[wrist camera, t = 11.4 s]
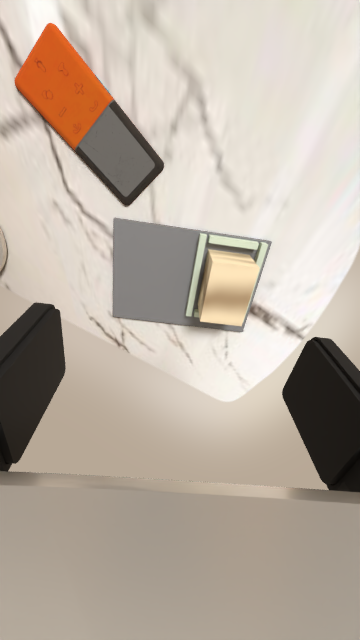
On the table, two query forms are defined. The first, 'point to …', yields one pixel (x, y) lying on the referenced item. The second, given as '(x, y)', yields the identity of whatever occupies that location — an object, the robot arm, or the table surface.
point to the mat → (170, 270)
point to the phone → (87, 116)
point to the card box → (226, 287)
